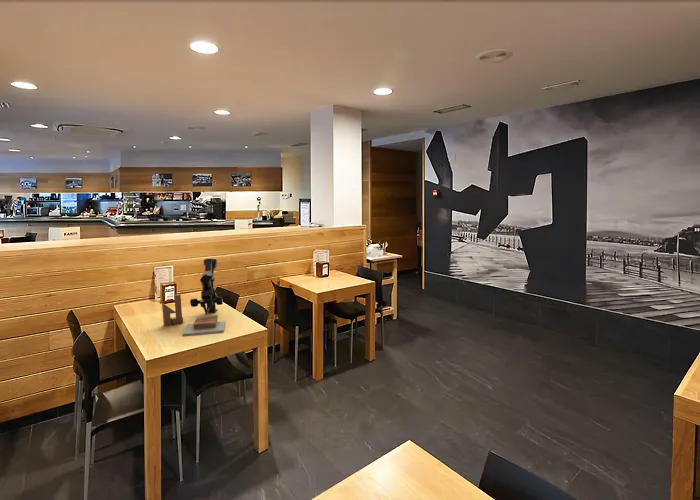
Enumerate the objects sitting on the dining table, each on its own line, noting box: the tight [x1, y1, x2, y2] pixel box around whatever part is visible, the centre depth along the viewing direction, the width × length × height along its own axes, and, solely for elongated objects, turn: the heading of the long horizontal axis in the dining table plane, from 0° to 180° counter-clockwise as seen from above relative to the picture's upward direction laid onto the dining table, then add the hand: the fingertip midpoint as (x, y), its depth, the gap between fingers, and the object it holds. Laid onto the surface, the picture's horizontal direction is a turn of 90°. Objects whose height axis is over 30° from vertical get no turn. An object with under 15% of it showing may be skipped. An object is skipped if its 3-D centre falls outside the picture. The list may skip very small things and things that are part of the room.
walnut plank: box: [193, 315, 219, 329], centre depth 240 cm, size 3×12×14 cm
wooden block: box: [161, 293, 184, 327], centre depth 245 cm, size 4×11×18 cm, turn 127°
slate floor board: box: [182, 320, 227, 337], centre depth 236 cm, size 18×22×1 cm
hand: (206, 313), depth 244 cm, fingers closed
